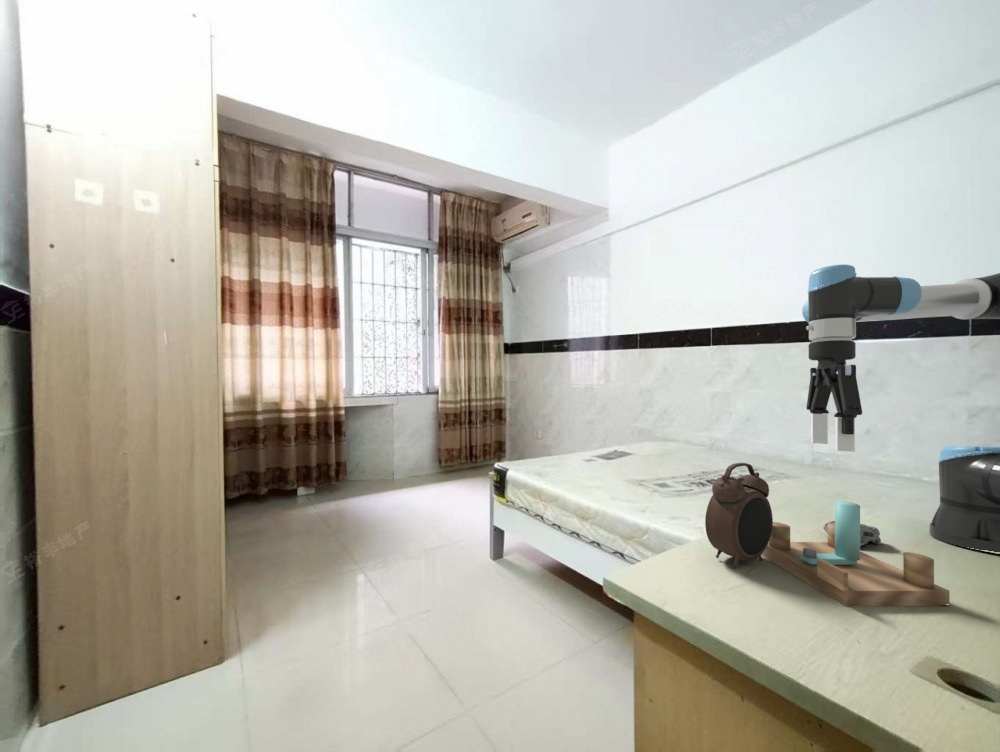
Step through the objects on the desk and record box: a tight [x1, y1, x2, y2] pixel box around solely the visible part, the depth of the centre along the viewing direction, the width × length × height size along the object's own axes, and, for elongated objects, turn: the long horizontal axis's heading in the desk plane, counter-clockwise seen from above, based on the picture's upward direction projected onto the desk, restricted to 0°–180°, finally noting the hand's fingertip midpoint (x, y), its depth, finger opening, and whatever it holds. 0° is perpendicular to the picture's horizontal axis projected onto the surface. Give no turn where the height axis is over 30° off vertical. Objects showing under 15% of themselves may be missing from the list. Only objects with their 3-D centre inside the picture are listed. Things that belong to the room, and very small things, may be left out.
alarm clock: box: [704, 462, 774, 569], centre depth 80 cm, size 15×7×20 cm, turn 117°
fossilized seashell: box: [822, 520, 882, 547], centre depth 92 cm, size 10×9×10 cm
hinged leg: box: [801, 500, 861, 565], centre depth 75 cm, size 4×10×11 cm, turn 93°
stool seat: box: [761, 521, 951, 608], centre depth 75 cm, size 18×20×7 cm
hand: (831, 446), depth 81 cm, fingers open, 10 cm apart
